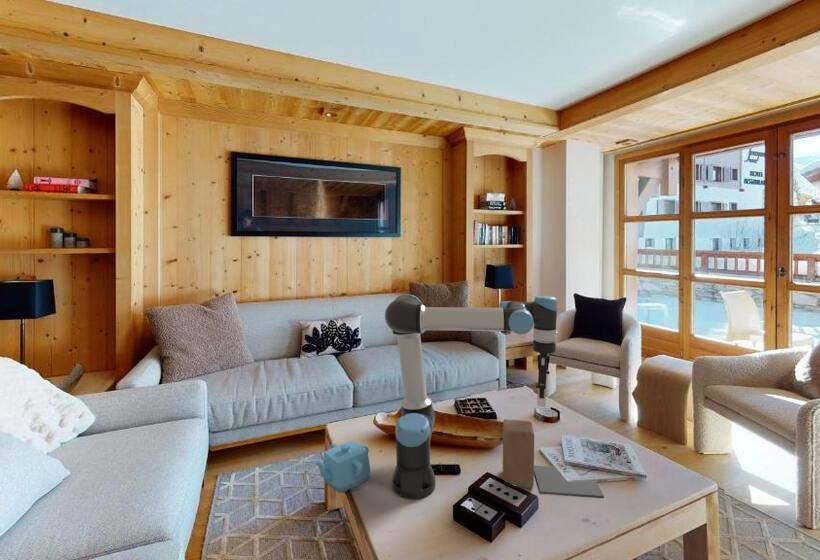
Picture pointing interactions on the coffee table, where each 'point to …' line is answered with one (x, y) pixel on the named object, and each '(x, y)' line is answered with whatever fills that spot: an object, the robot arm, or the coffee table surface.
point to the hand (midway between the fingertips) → (542, 398)
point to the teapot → (345, 465)
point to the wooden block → (518, 453)
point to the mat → (563, 483)
